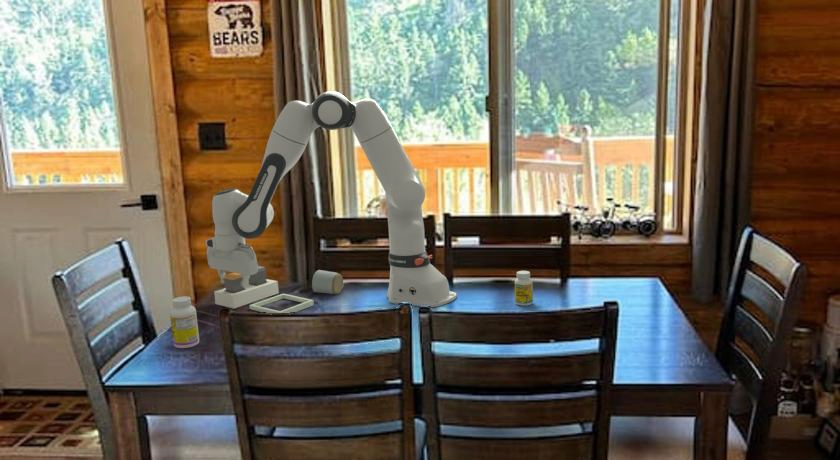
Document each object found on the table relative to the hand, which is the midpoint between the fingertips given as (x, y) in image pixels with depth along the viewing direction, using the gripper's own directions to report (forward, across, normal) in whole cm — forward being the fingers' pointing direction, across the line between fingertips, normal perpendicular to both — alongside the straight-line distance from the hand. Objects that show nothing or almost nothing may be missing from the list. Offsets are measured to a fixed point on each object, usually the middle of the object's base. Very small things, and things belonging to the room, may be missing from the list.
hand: (234, 285), depth 225 cm
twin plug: (+6, 0, -9) cm, 11 cm away
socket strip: (+7, 0, -4) cm, 8 cm away
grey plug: (+6, 0, 0) cm, 6 cm away
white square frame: (+7, -16, -4) cm, 18 cm away
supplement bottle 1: (+7, -16, +30) cm, 34 cm away
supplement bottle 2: (+7, -76, -46) cm, 89 cm away
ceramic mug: (+7, -16, -25) cm, 31 cm away
